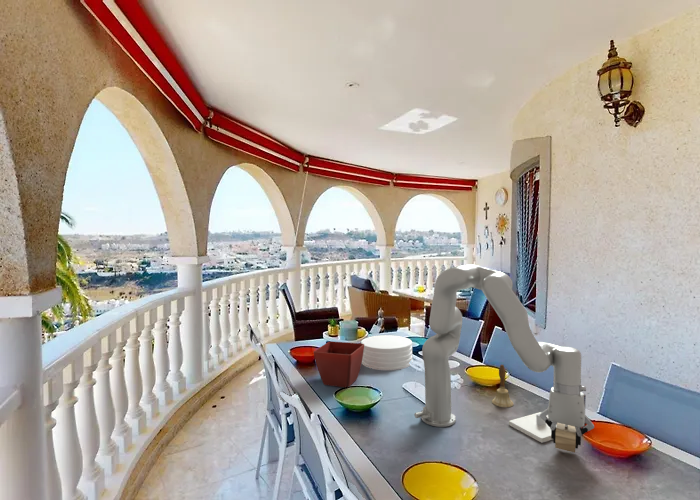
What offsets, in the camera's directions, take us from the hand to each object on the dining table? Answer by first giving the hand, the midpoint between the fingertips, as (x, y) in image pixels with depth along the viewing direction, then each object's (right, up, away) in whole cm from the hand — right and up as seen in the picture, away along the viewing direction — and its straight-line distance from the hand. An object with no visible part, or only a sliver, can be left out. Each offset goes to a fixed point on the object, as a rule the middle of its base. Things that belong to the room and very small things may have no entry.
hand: (565, 443), depth 125 cm
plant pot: (-73, -3, +66) cm, 98 cm away
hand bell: (-5, -2, +38) cm, 38 cm away
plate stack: (-48, -1, +95) cm, 106 cm away
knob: (0, -1, 0) cm, 1 cm away
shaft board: (0, -2, +16) cm, 16 cm away
